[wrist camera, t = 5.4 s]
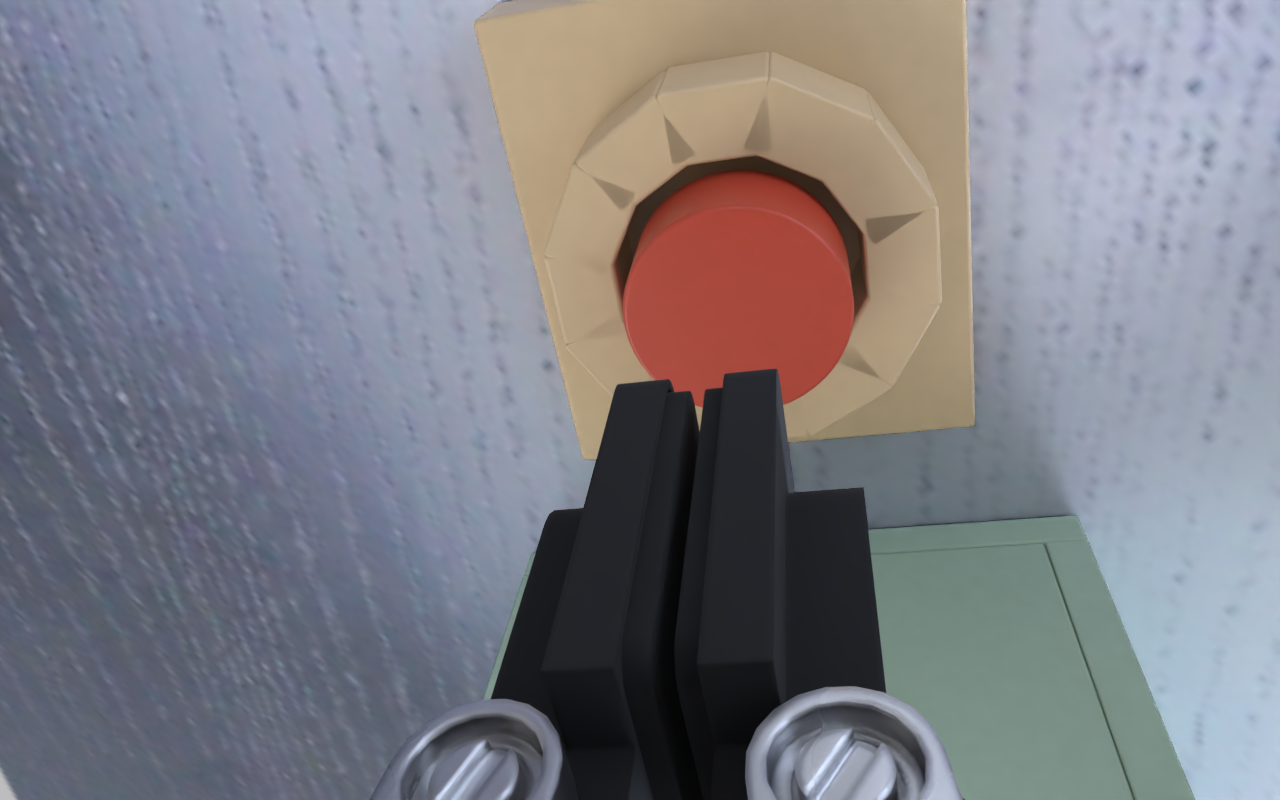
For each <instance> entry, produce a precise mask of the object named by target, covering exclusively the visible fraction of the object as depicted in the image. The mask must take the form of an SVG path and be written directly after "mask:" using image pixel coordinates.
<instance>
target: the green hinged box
mask: <svg viewBox="0 0 1280 800" xmlns="http://www.w3.org/2000/svg"><path fill="white" fill-rule="evenodd" d="M868 532H869V541H870V550H871V559H872V568H873V577H874V586H875V595H876V604H877V613H878V622H879V631H880V640H881V649H882V658H883V667H884V676H885V685H886V694H888V695H890V696H892V697H895V698H897V699H899V700H901V701H903V702H905V703H907V704H909V705H911V706H912V707H913V708H914V709H915V710H916V711H917V712H918V713H919V714H920V715H922V716H923V717H924V718H925V719H926V720H927V721H928V722H929V723H930V724H931V725H932V726H933V728H934V730H935V732H936V733H937V735H938V737H939V739H940V740H941V742H942V744H943V746H944V747H945V750H946V753H947V755H948V758H949V761H950V764H951V767H952V769H953V772H954V775H955V778H956V781H957V784H958V786H959V789H960V792H961V795H962V798H964V799H965V800H1195V798H1194V796H1193V793H1192V791H1191V788H1190V786H1189V783H1188V781H1187V779H1186V776H1185V774H1184V771H1183V769H1182V767H1181V764H1180V762H1179V759H1178V757H1177V754H1176V752H1175V750H1174V747H1173V745H1172V742H1171V740H1170V737H1169V735H1168V733H1167V730H1166V728H1165V725H1164V723H1163V720H1162V718H1161V716H1160V713H1159V711H1158V708H1157V706H1156V703H1155V701H1154V699H1153V696H1152V694H1151V691H1150V689H1149V686H1148V684H1147V682H1146V679H1145V677H1144V674H1143V672H1142V669H1141V667H1140V665H1139V662H1138V660H1137V657H1136V655H1135V652H1134V650H1133V648H1132V645H1131V643H1130V640H1129V638H1128V635H1127V633H1126V631H1125V628H1124V626H1123V623H1122V621H1121V618H1120V616H1119V614H1118V611H1117V609H1116V606H1115V604H1114V602H1113V599H1112V597H1111V594H1110V592H1109V589H1108V587H1107V585H1106V582H1105V580H1104V577H1103V575H1102V572H1101V570H1100V568H1099V565H1098V563H1097V560H1096V558H1095V555H1094V553H1093V551H1092V548H1091V546H1090V543H1089V541H1088V540H1087V537H1086V535H1085V533H1084V530H1083V528H1082V525H1081V523H1080V520H1079V518H1078V517H1077V516H1074V515H1073V516H1058V517H1044V518H1029V519H1015V520H1000V521H986V522H972V523H957V524H943V525H928V526H914V527H899V528H885V529H870V530H868ZM535 554H536V553H532V554H531V556H530V559H529V563H528V566H527V569H526V572H525V575H524V576H525V577H523V579H522V582H521V585H520V588H519V592H518V595H517V598H516V601H515V604H514V607H513V610H512V613H511V616H510V619H509V622H508V625H507V628H506V631H505V634H504V637H503V640H502V643H501V646H500V649H499V652H498V655H497V658H496V661H495V665H494V668H493V671H492V674H491V677H490V680H489V683H488V686H487V689H486V692H485V695H484V698H483V700H488V699H491V696H492V693H493V689H494V686H495V683H496V680H497V677H498V673H499V670H500V667H501V664H502V660H503V657H504V654H505V651H506V647H507V644H508V641H509V638H510V634H511V631H512V628H513V625H514V622H515V618H516V615H517V612H518V609H519V605H520V602H521V599H522V596H523V592H524V589H525V586H526V583H527V580H528V576H529V573H530V570H531V567H532V563H533V560H534V557H535Z"/></svg>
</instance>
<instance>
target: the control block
mask: <svg viewBox="0 0 1280 800" xmlns="http://www.w3.org/2000/svg"><path fill="white" fill-rule="evenodd" d="M474 28H475V32H476V36H477V40H478V44H479V48H480V52H481V56H482V60H483V64H484V68H485V71H486V75H487V79H488V83H489V87H490V91H491V95H492V99H493V103H494V107H495V111H496V115H497V119H498V123H499V127H500V131H501V135H502V139H503V143H504V147H505V151H506V155H507V159H508V163H509V167H510V171H511V175H512V179H513V183H514V187H515V191H516V195H517V199H518V203H519V207H520V211H521V215H522V219H523V223H524V227H525V231H526V235H527V239H528V243H529V247H530V251H531V255H532V258H533V262H534V266H535V270H536V274H537V278H538V282H539V286H540V290H541V294H542V298H543V302H544V306H545V310H546V314H547V318H548V322H549V326H550V330H551V334H552V338H553V342H554V346H555V350H556V354H557V358H558V362H559V366H560V370H561V374H562V378H563V382H564V386H565V390H566V394H567V398H568V402H569V406H570V410H571V414H572V418H573V422H574V426H575V430H576V434H577V438H578V441H579V445H580V449H581V453H582V457H583V459H584V460H594V459H597V455H598V451H599V448H600V444H601V440H602V436H603V433H604V429H605V425H606V421H607V417H608V414H609V410H610V406H611V402H612V399H613V395H614V391H615V388H616V386H617V385H618V384H624V383H634V382H644V381H654V379H653V378H652V377H651V376H650V375H649V373H648V372H647V371H646V370H645V368H644V367H643V366H642V365H641V363H640V362H639V360H638V358H637V357H636V355H635V353H634V352H633V349H632V347H631V345H630V343H629V340H628V337H627V333H626V330H625V326H624V319H623V296H624V290H625V285H626V282H627V278H628V275H629V272H630V269H631V265H632V262H633V259H634V256H635V253H636V250H637V246H638V243H639V240H640V237H641V234H642V232H643V230H644V228H645V226H646V224H647V222H648V220H649V219H650V217H651V216H652V214H653V213H654V211H655V210H656V209H657V208H658V207H659V206H660V205H661V203H662V202H663V201H664V200H665V199H667V198H668V197H669V196H670V195H671V194H672V193H673V192H675V191H676V190H678V189H679V188H681V187H682V186H684V185H686V184H688V183H690V182H692V181H694V180H696V179H698V178H701V177H704V176H707V175H709V174H713V173H718V172H723V171H731V170H753V171H760V172H765V173H770V174H773V175H777V176H780V177H783V178H785V179H787V180H789V181H792V182H794V183H796V184H798V185H799V186H801V187H802V188H804V189H805V190H807V191H809V192H810V193H811V194H812V195H813V196H814V197H816V198H817V199H818V200H819V201H820V202H821V203H822V204H823V205H824V206H825V208H826V209H827V210H828V211H829V212H830V214H831V215H832V217H833V218H834V220H835V221H836V223H837V225H838V227H839V229H840V231H841V233H842V236H843V239H844V242H845V246H846V250H847V256H848V263H849V270H850V277H851V284H852V291H853V297H854V320H853V327H852V332H851V335H850V339H849V342H848V344H847V346H846V349H845V351H844V353H843V355H842V357H841V358H840V360H839V361H838V363H837V365H836V366H835V367H834V369H833V370H832V371H831V372H830V373H829V375H828V376H827V377H826V378H825V379H824V380H823V381H821V382H820V383H819V384H818V385H817V386H816V387H815V388H813V389H812V390H811V391H809V392H808V393H806V394H805V395H803V396H802V397H800V398H798V399H796V400H794V401H792V402H790V403H787V404H785V405H783V408H784V415H785V423H786V430H787V438H788V443H790V442H801V441H813V440H824V439H836V438H847V437H859V436H871V435H882V434H894V433H905V432H917V431H928V430H940V429H951V428H963V427H972V426H974V423H975V392H974V345H973V298H972V252H971V205H970V158H969V111H968V65H967V18H966V0H513V1H508V2H502V3H498V4H497V5H496V6H494V7H493V8H492V9H490V10H489V11H488V12H486V13H485V14H484V15H482V16H481V17H480V18H478V19H477V20H475V21H474ZM695 409H696V414H697V420H698V425H699V431H700V426H701V418H702V409H703V408H702V407H699V406H696V405H695Z"/></svg>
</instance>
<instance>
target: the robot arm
mask: <svg viewBox="0 0 1280 800" xmlns="http://www.w3.org/2000/svg"><path fill="white" fill-rule="evenodd" d="M370 800H965V799H964V798H962V795H961V792H960V789H959V786H958V784H957V781H956V778H955V775H954V772H953V769H952V767H951V764H950V761H949V758H948V755H947V753H946V750H945V747H944V746H943V744H942V742H941V740H940V739H939V737H938V735H937V733H936V732H935V730H934V728H933V726H932V725H931V724H930V723H929V722H928V721H927V720H926V719H925V718H924V717H923V716H922V715H920V714H919V713H918V712H917V711H916V710H915V709H914V708H913V707H912V706H911V705H909V704H907V703H905V702H903V701H901V700H899V699H897V698H895V697H892V696H890V695H888V694H886V685H885V676H884V667H883V658H882V649H881V640H880V631H879V622H878V613H877V604H876V595H875V586H874V577H873V568H872V559H871V550H870V541H869V532H868V523H867V514H866V505H865V496H864V489H863V488H849V489H836V490H822V491H809V492H796V493H795V491H794V483H793V476H792V468H791V461H790V453H789V445H788V438H787V430H786V423H785V415H784V408H783V400H782V392H781V385H780V378H779V373H778V369H777V368H775V369H765V370H755V371H745V372H735V373H726V374H724V379H723V388H712V389H706V390H705V393H704V401H703V409H702V418H701V426H700V431H699V425H698V420H697V414H696V409H695V404H694V399H693V396H692V393H691V391H681V392H674V388H673V386H672V383H671V381H670V380H669V379H664V380H654V381H644V382H634V383H624V384H618V385H617V386H616V388H615V391H614V395H613V399H612V402H611V406H610V410H609V414H608V417H607V421H606V425H605V429H604V433H603V436H602V440H601V444H600V448H599V451H598V455H597V459H596V463H595V467H594V470H593V474H592V478H591V482H590V486H589V489H588V493H587V497H586V501H585V504H584V508H580V509H567V510H554V511H553V512H552V513H550V514H549V516H548V518H547V520H546V522H545V525H544V528H543V531H542V534H541V538H540V541H539V544H538V547H537V550H536V554H535V557H534V560H533V563H532V567H531V570H530V573H529V576H528V580H527V583H526V586H525V589H524V592H523V596H522V599H521V602H520V605H519V609H518V612H517V615H516V618H515V622H514V625H513V628H512V631H511V634H510V638H509V641H508V644H507V647H506V651H505V654H504V657H503V660H502V664H501V667H500V670H499V673H498V677H497V680H496V683H495V686H494V689H493V693H492V696H491V699H488V700H478V701H474V702H471V703H467V704H464V705H460V706H457V707H454V708H452V709H450V710H448V711H446V712H444V713H442V714H441V715H439V716H437V717H435V718H433V719H431V720H429V721H428V722H427V723H426V724H424V725H423V726H422V727H421V728H420V729H419V730H417V731H416V732H415V733H414V734H413V735H412V736H410V737H409V738H408V739H407V740H406V741H405V743H404V744H403V745H402V747H401V748H400V750H399V751H398V752H397V754H396V755H395V756H394V758H393V759H392V760H391V762H390V764H389V765H388V767H387V769H386V771H385V773H384V774H383V776H382V778H381V780H380V782H379V783H378V785H377V787H376V789H375V791H374V793H373V794H372V796H371V798H370Z"/></svg>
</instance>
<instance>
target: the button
mask: <svg viewBox="0 0 1280 800" xmlns="http://www.w3.org/2000/svg"><path fill="white" fill-rule="evenodd" d="M623 319H624V326H625V330H626V333H627V337H628V340H629V343H630V345H631V347H632V349H633V352H634V353H635V355H636V357H637V358H638V360H639V362H640V363H641V365H642V366H643V367H644V368H645V370H646V371H647V372H648V373H649V375H650V376H651V377H652V378H653V379H654V380H664V379H669V380H670V381H671V383H672V386H673V388H674V392H681V391H691V393H692V396H693V399H694V404H695V405H696V406H699V407H702V408H703V401H704V393H705V390H706V389H712V388H723V379H724V374H726V373H735V372H745V371H755V370H765V369H775V368H777V369H778V373H779V378H780V385H781V392H782V400H783V405H785V404H787V403H790V402H792V401H794V400H796V399H798V398H800V397H802V396H803V395H805V394H806V393H808V392H809V391H811V390H812V389H813V388H815V387H816V386H817V385H818V384H819V383H820V382H821V381H823V380H824V379H825V378H826V377H827V376H828V375H829V373H830V372H831V371H832V370H833V369H834V367H835V366H836V365H837V363H838V361H839V360H840V358H841V357H842V355H843V353H844V351H845V349H846V346H847V344H848V342H849V339H850V335H851V332H852V327H853V320H854V297H853V291H852V284H851V277H850V270H849V263H848V256H847V250H846V246H845V242H844V239H843V236H842V233H841V231H840V229H839V227H838V225H837V223H836V221H835V220H834V218H833V217H832V215H831V214H830V212H829V211H828V210H827V209H826V208H825V206H824V205H823V204H822V203H821V202H820V201H819V200H818V199H817V198H816V197H814V196H813V195H812V194H811V193H810V192H809V191H807V190H805V189H804V188H802V187H801V186H799V185H798V184H796V183H794V182H792V181H789V180H787V179H785V178H783V177H780V176H777V175H773V174H770V173H765V172H760V171H753V170H731V171H723V172H718V173H713V174H709V175H707V176H704V177H701V178H698V179H696V180H694V181H692V182H690V183H688V184H686V185H684V186H682V187H681V188H679V189H678V190H676V191H675V192H673V193H672V194H671V195H670V196H669V197H668V198H667V199H665V200H664V201H663V202H662V203H661V205H660V206H659V207H658V208H657V209H656V210H655V211H654V213H653V214H652V216H651V217H650V219H649V220H648V222H647V224H646V226H645V228H644V230H643V232H642V234H641V237H640V240H639V243H638V246H637V250H636V253H635V256H634V259H633V262H632V265H631V269H630V272H629V275H628V278H627V282H626V285H625V290H624V296H623Z"/></svg>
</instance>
